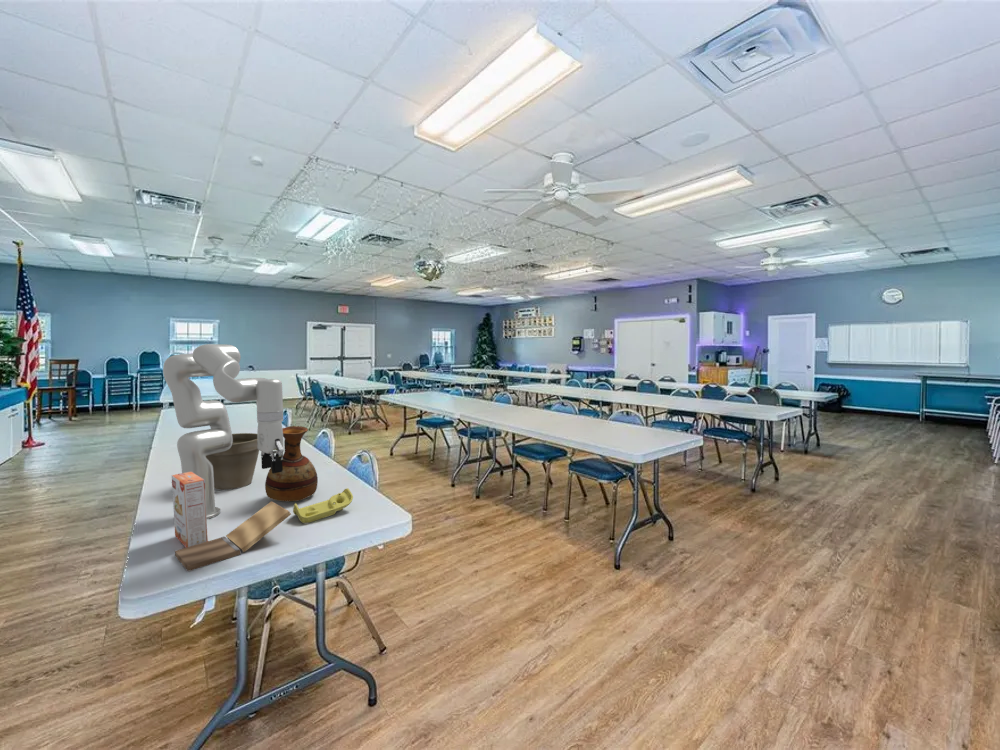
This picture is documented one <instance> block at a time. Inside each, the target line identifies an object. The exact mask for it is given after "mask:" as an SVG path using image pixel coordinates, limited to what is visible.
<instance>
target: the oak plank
mask: <svg viewBox="0 0 1000 750" xmlns="http://www.w3.org/2000/svg"><path fill="white" fill-rule="evenodd" d="M291 515H292V514H291V512H290V510H288V509H286V508H284V506H283V507H282V506H281V505H279V504H277V503H276V502H274V501H272V500H271V501H269V503H267V504H266V505H264V506H263V507H262V508H260V509H259V510H258V511H256V512H255V513H254V514H253V515H251V516H250V517H249V518H248V519H246V520H244V521H243V522H242V523H240V524H239V525H237V526H236V528H234V529H232V530H231V531H230V532H229V533H227V534H226V535H225V537H226V538H227V539H228V540H229V541H231V542H232V543H233V544H234V545H235V546H236V547H238V548H239V549H240V551H242V552H243V553H245V552H247V551H248V550H249V549H251V548H252V546H254V545H255V544H257V543H258V542H259V541H260V540H262V538H264V537H265V536H266V535H268V534H270V532H271V531H273V530H274V529H275V528H277V526H279V525H280V524H281V523H283V522H284V521H285V520H286V519H288V518H289V517H291Z"/></svg>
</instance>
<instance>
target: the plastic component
mask: <svg viewBox="0 0 1000 750" xmlns="http://www.w3.org/2000/svg"><path fill="white" fill-rule="evenodd" d="M353 498H354V495H353V493H352V491H351V490H350V489H349V487H346V488H345V489H344V490H342V492H338V493H336V494H333V495H332V496H330V497H329V499H327V500H323V501H320V502H316V503H313V504H310V505H307V506H303V507H299V506H298V504H297V503H294V504H293V511H292V512H293V515H295V516H297V517H298V520H299V521H300V522H301V523H302V524H308V523H313V522H315V521H319V520H322V519H324V518H327V517H331V516H335V515H336V512H339V511H344V509H345V508H347V507H348V506H349V505H351V503H352V501H353Z"/></svg>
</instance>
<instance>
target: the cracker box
mask: <svg viewBox="0 0 1000 750" xmlns="http://www.w3.org/2000/svg"><path fill="white" fill-rule="evenodd" d="M171 489H172V505H173V506H172V507H173V524H174V536H175V538H177V540H178V541H179V542H180V544H182V545H183V546H184V548H187V547H190V546H193V545H197V544H200V543H204V542H207V541H209V540H208V524H207V523H208V519H207V518H206V499H205V480H204V479H202V478H201V477H199V476H197V475H196V474H194V473H193V472H187V473H182V472H181V473H176V474H172V475H171Z"/></svg>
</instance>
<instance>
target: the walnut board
mask: <svg viewBox="0 0 1000 750" xmlns="http://www.w3.org/2000/svg"><path fill="white" fill-rule="evenodd" d="M239 555H240V556H241V549H239V548H238V547H237V546H236V545H235V544H234V543H232V542H231V541H230V540H229V539H228V538H227V537H226V536H221V537H218V538H215V539H211V540H208V541H207V542H204V543H200V544H197V545H193V546H190V547H187V548H186V547H184V548H180V549H176V550H174V556H175V558H176V557H177V558H176V559H177V560H178V561H179V562H180V564H181V563H182V564H181V565H182V566H183V568H184V569H185V570H186V571H187V572H191V571H194V570H197V569H200V568H204V567H206V566H208V565H212V564H215V563H218V562H221V561H224V560H228V559H231V558H233V557H237V556H239Z"/></svg>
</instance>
